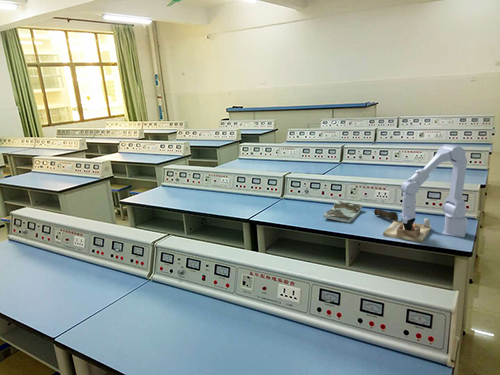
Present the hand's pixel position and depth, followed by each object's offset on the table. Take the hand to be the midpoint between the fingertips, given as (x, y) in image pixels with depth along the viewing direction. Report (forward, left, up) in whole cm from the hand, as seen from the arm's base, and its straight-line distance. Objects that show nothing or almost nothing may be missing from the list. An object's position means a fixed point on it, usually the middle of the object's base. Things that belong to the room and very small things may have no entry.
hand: (407, 232), depth 179 cm
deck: (+2, -7, -3) cm, 8 cm away
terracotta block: (0, -4, -1) cm, 4 cm away
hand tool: (+20, -24, -6) cm, 32 cm away
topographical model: (+41, -20, -3) cm, 46 cm away
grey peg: (-5, -14, -1) cm, 16 cm away
